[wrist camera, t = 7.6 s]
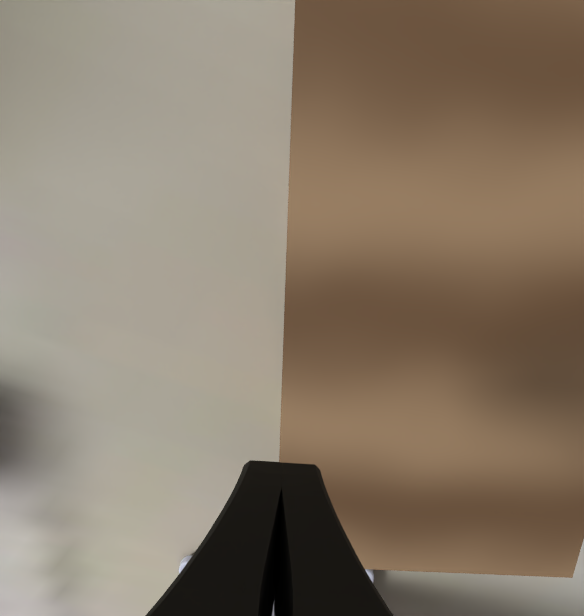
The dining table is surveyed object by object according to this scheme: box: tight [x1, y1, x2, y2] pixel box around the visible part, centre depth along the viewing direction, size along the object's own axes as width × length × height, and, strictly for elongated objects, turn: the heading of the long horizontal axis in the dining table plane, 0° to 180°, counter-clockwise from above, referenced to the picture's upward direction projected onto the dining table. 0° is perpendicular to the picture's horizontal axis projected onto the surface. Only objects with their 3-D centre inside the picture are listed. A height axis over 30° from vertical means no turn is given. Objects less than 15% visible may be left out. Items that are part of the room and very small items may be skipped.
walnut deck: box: [279, 0, 584, 578], centre depth 17 cm, size 18×10×4 cm, turn 178°
